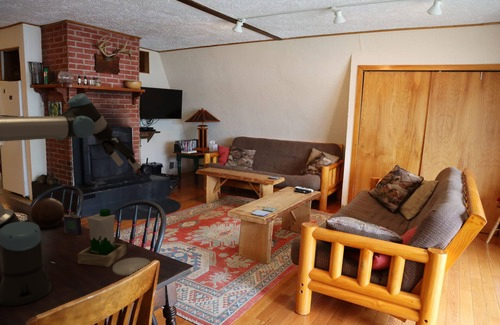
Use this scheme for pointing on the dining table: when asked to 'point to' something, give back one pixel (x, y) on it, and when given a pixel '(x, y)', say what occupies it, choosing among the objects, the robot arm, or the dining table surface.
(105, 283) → the dining table surface
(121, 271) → the pad
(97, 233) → the soya milk
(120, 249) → the shallow beige tray
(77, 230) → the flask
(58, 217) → the wooden sphere
